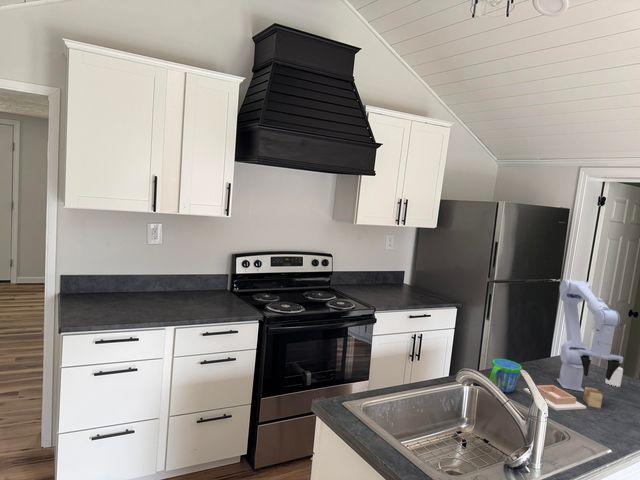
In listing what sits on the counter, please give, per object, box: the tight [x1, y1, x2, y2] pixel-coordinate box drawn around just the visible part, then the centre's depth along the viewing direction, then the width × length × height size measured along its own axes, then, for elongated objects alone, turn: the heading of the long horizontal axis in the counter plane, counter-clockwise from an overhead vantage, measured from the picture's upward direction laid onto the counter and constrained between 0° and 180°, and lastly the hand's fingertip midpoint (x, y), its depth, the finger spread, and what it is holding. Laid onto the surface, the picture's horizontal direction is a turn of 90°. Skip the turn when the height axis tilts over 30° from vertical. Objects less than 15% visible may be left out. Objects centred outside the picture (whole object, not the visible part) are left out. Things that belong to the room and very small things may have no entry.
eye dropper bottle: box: [604, 362, 624, 388], centre depth 194 cm, size 4×6×12 cm
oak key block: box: [582, 386, 604, 409], centre depth 172 cm, size 6×4×5 cm, turn 167°
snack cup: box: [488, 358, 523, 393], centre depth 176 cm, size 16×10×10 cm
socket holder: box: [523, 384, 587, 411], centre depth 172 cm, size 16×14×3 cm
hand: (596, 377), depth 171 cm, fingers open, 7 cm apart
